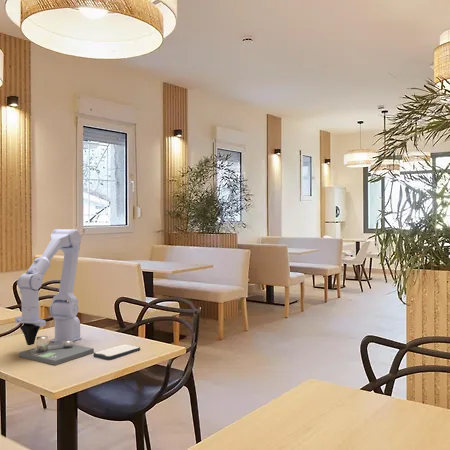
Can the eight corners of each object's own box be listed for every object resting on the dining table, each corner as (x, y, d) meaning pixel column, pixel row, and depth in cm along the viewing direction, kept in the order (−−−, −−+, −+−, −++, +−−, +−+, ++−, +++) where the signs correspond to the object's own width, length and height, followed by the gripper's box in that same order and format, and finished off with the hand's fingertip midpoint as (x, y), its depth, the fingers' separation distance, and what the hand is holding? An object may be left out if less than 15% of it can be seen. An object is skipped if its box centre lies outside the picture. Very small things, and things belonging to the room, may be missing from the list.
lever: (71, 344, 180) (71, 331, 180) (74, 346, 177) (74, 333, 177) (29, 350, 172) (29, 337, 172) (32, 353, 169) (32, 339, 169)
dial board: (58, 345, 186) (58, 341, 186) (93, 352, 176) (93, 348, 176) (18, 356, 171) (18, 352, 171) (55, 365, 161) (55, 360, 161)
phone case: (124, 347, 185) (91, 357, 171) (124, 343, 185) (91, 352, 171) (141, 351, 180) (109, 361, 166) (141, 347, 180) (109, 356, 166)
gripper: (7, 306, 175) (8, 344, 176) (33, 310, 168) (34, 350, 168) (24, 303, 181) (25, 339, 182) (50, 307, 174) (51, 345, 174)
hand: (30, 344), depth 175 cm, fingers closed
